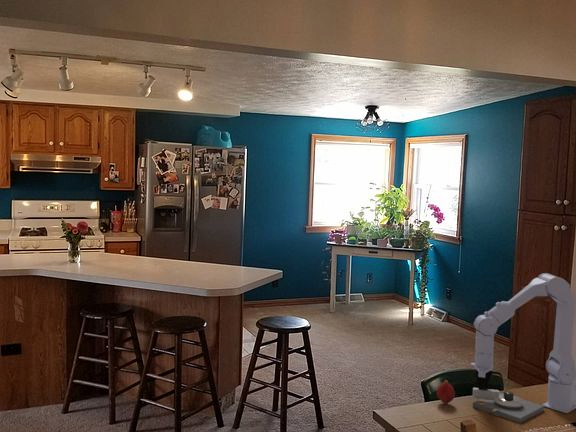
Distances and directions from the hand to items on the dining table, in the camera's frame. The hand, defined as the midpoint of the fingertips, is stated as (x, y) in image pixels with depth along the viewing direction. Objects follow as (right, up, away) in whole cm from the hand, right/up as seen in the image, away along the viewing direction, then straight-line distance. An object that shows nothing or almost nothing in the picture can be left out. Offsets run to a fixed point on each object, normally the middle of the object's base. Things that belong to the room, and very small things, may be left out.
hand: (482, 392), depth 180 cm
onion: (-12, -4, 0) cm, 13 cm away
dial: (+4, -2, -3) cm, 5 cm away
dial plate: (+7, -4, -3) cm, 9 cm away
